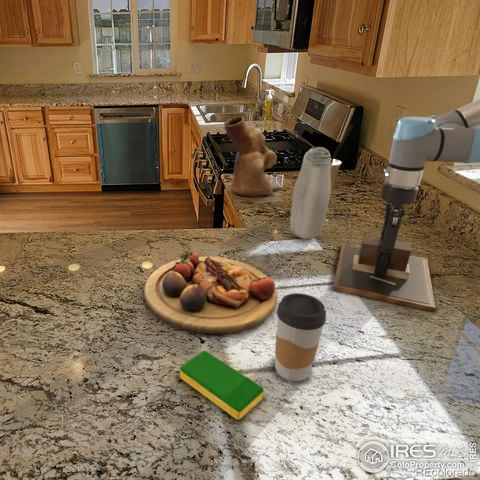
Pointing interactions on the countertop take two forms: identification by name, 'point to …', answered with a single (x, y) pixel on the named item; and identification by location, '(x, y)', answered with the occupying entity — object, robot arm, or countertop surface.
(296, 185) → the glass bottle
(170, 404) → the countertop surface
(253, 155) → the ceramic vessel
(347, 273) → the chalkboard
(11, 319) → the countertop surface
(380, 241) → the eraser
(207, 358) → the dish sponge
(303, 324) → the coffee cup
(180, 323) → the wooden plate
